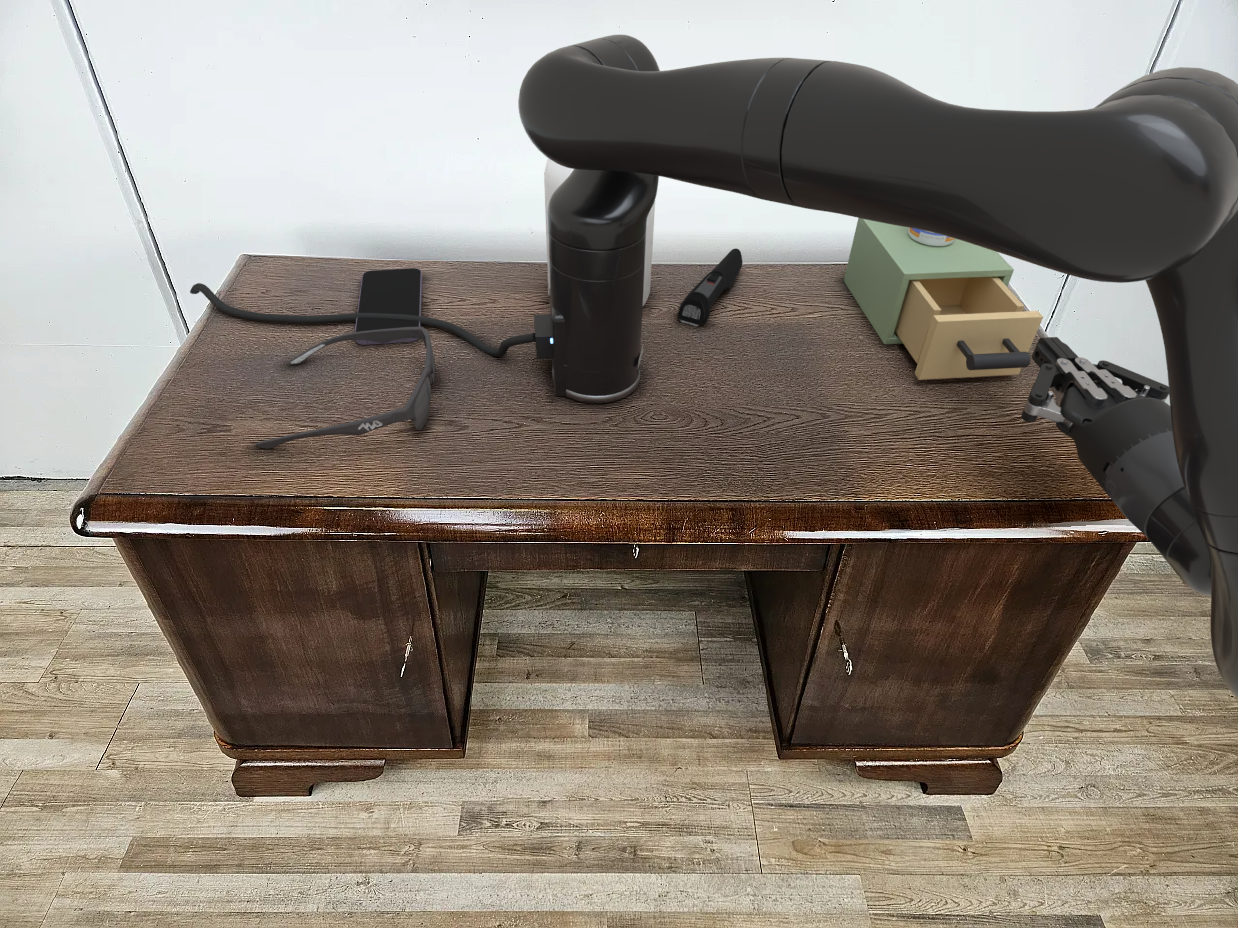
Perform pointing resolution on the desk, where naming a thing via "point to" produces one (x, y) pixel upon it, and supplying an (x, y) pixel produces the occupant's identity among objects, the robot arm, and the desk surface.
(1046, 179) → the robot arm
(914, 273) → the cabinet
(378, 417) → the sunglasses
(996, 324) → the drawer
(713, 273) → the electric trimmer
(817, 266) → the desk surface
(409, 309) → the smartphone
